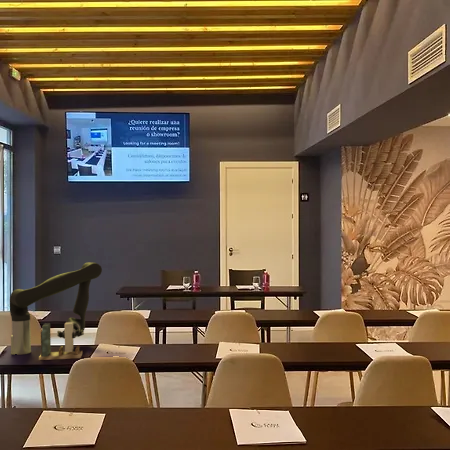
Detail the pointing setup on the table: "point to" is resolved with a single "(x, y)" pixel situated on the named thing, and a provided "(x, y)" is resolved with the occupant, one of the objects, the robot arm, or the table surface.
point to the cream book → (69, 337)
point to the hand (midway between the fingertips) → (68, 336)
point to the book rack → (46, 347)
